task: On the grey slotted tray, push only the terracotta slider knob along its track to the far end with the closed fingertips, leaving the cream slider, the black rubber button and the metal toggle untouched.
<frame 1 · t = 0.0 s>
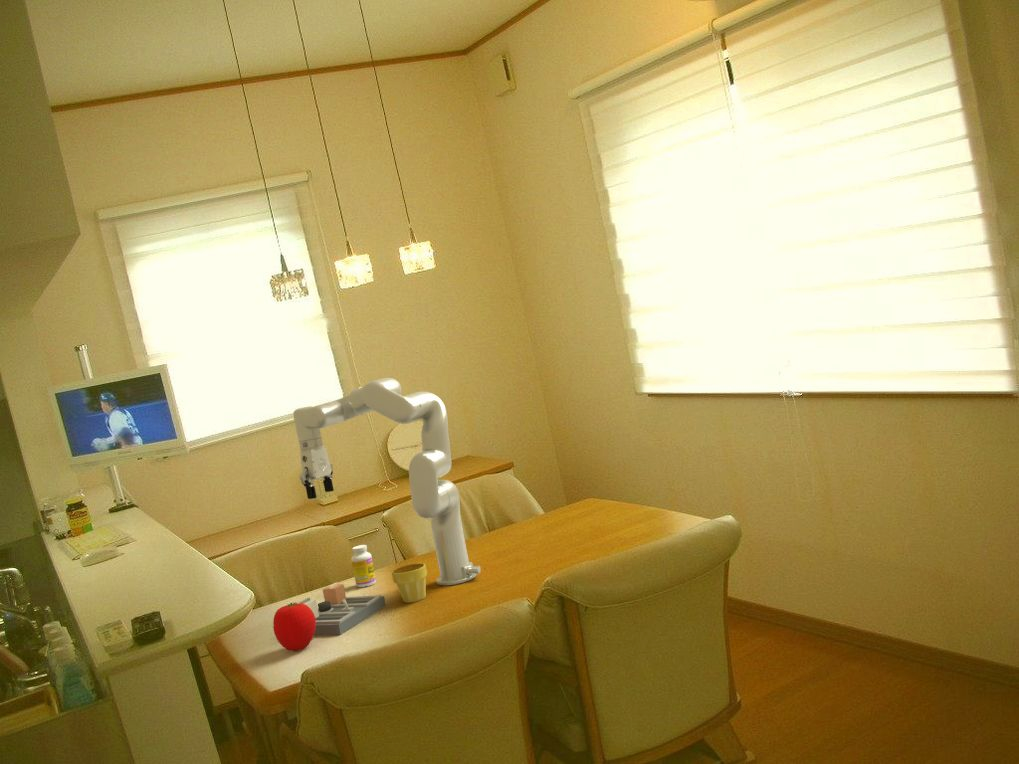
hand: (321, 494, 336), 31 cm above the table, tool pointing down, fingers open, 9 cm apart
cream slider: (306, 609, 292), point 6 cm above the table, slide at 0.0 cm
supplement bottle: (366, 585, 333), on the table
tomato: (298, 649, 275), on the table
grey slotted tray: (338, 620, 296), on the table
terracotta slider: (334, 593, 304), point 6 cm above the table, slide at 0.0 cm
black button: (324, 606, 298), point 5 cm above the table, slide at 0.0 cm
plant pot: (414, 599, 304), on the table
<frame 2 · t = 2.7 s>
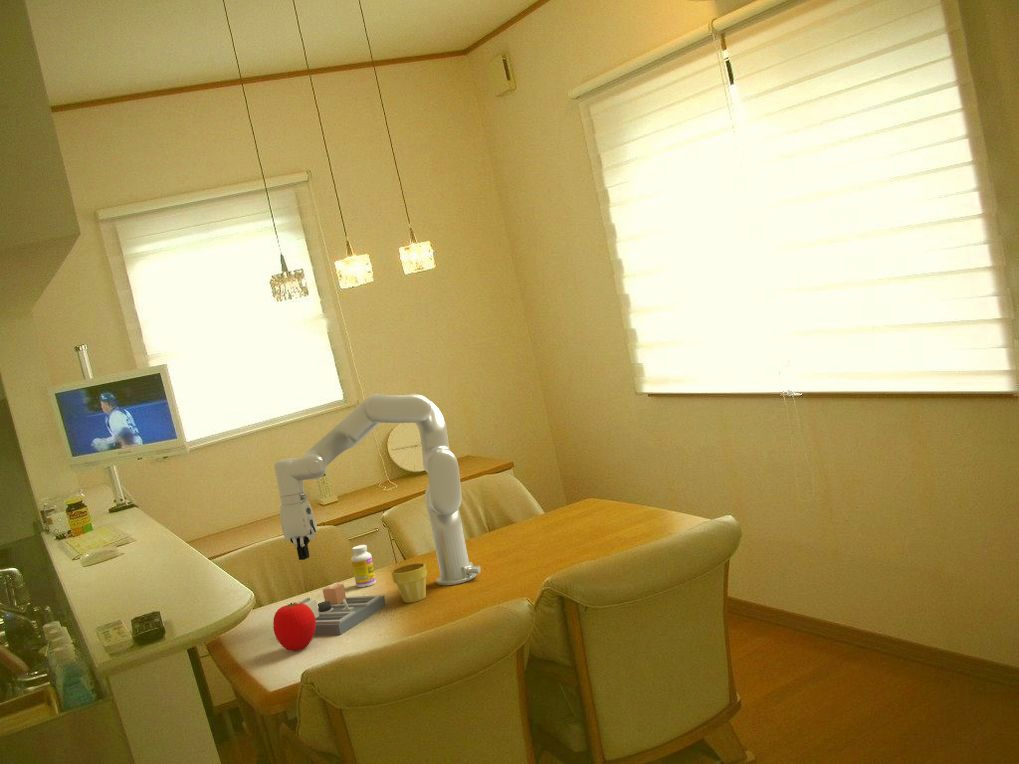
hand: (304, 558, 307), 17 cm above the table, tool pointing down, fingers closed
nothing on the table moved.
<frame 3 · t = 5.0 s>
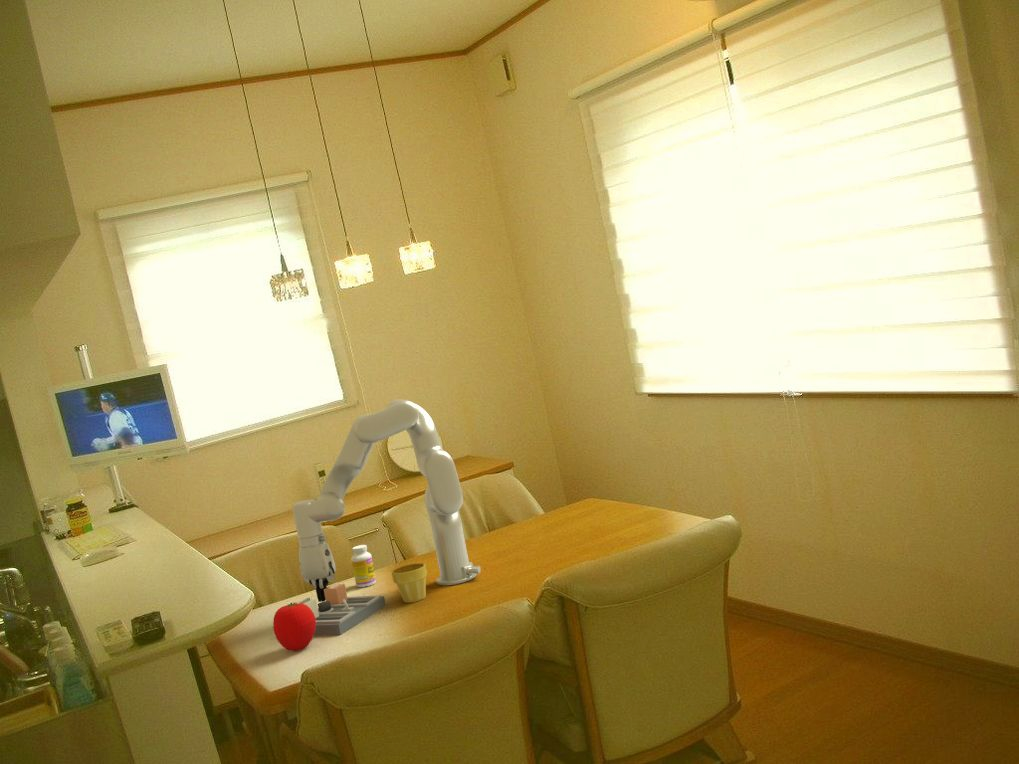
hand: (323, 600, 306), 4 cm above the table, tool pointing down, fingers closed
terracotta slider: (335, 593, 304), point 6 cm above the table, slide at 0.4 cm, touching gripper
everything else where it was.
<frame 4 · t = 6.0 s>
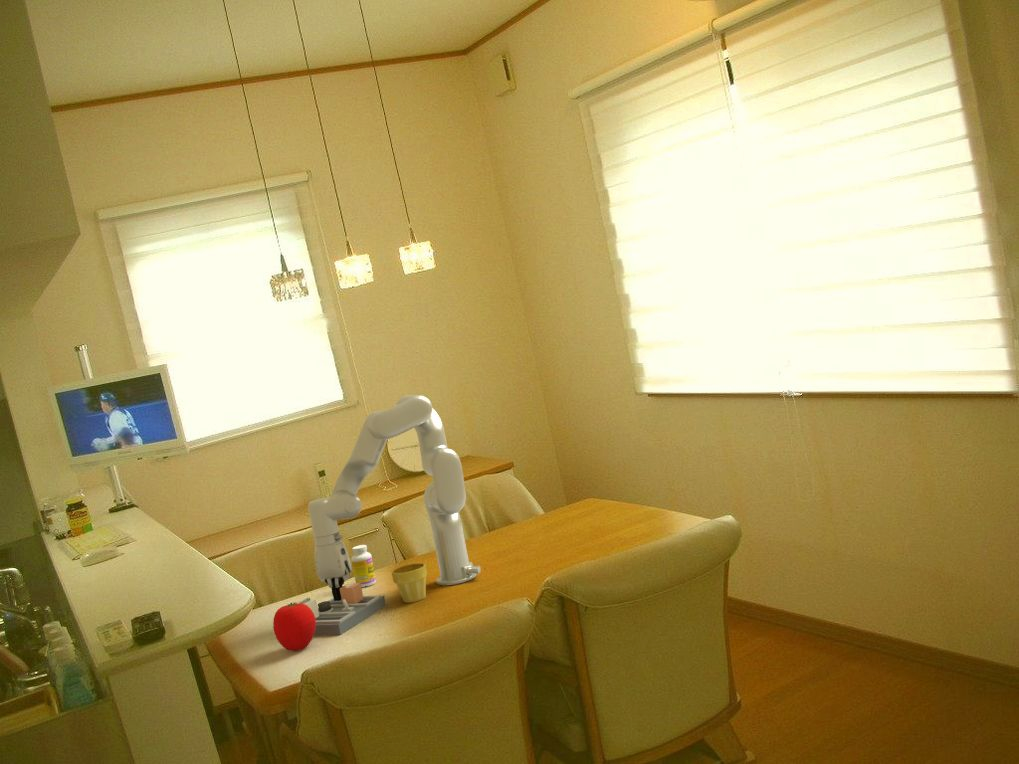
hand: (339, 599, 304), 4 cm above the table, tool pointing down, fingers closed
terracotta slider: (351, 592, 301), point 6 cm above the table, slide at 6.2 cm, touching gripper
everything else where it was.
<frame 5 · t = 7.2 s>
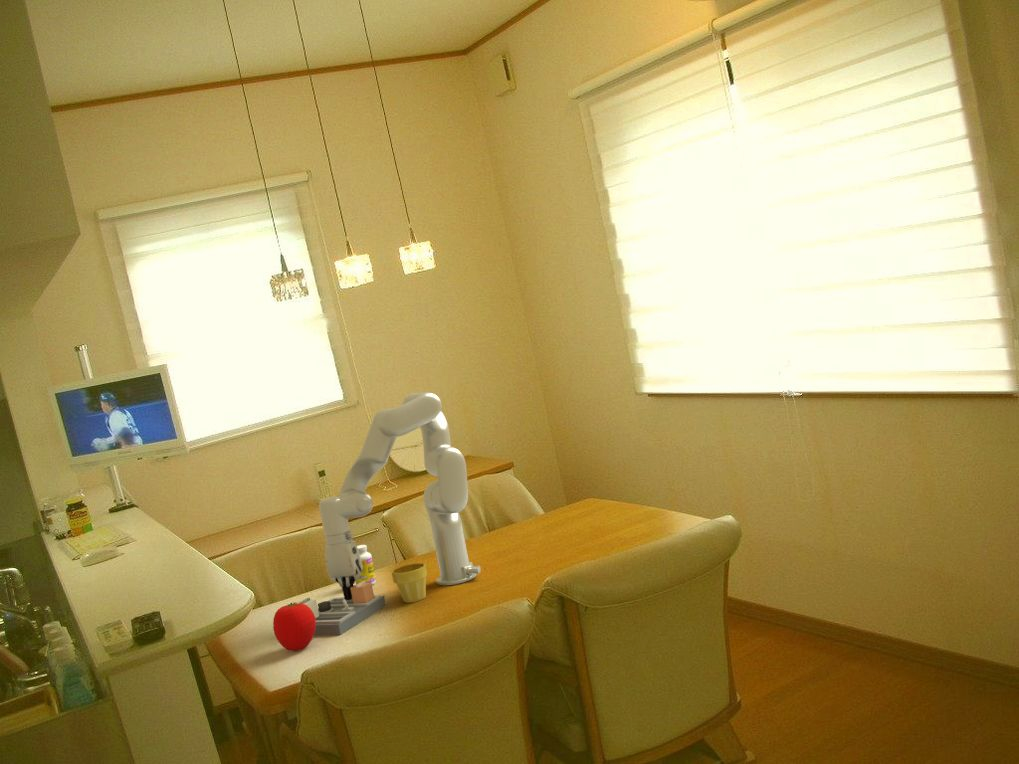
hand: (350, 598, 302), 4 cm above the table, tool pointing down, fingers closed
terracotta slider: (362, 592, 300), point 6 cm above the table, slide at 10.1 cm, touching gripper
everything else where it was.
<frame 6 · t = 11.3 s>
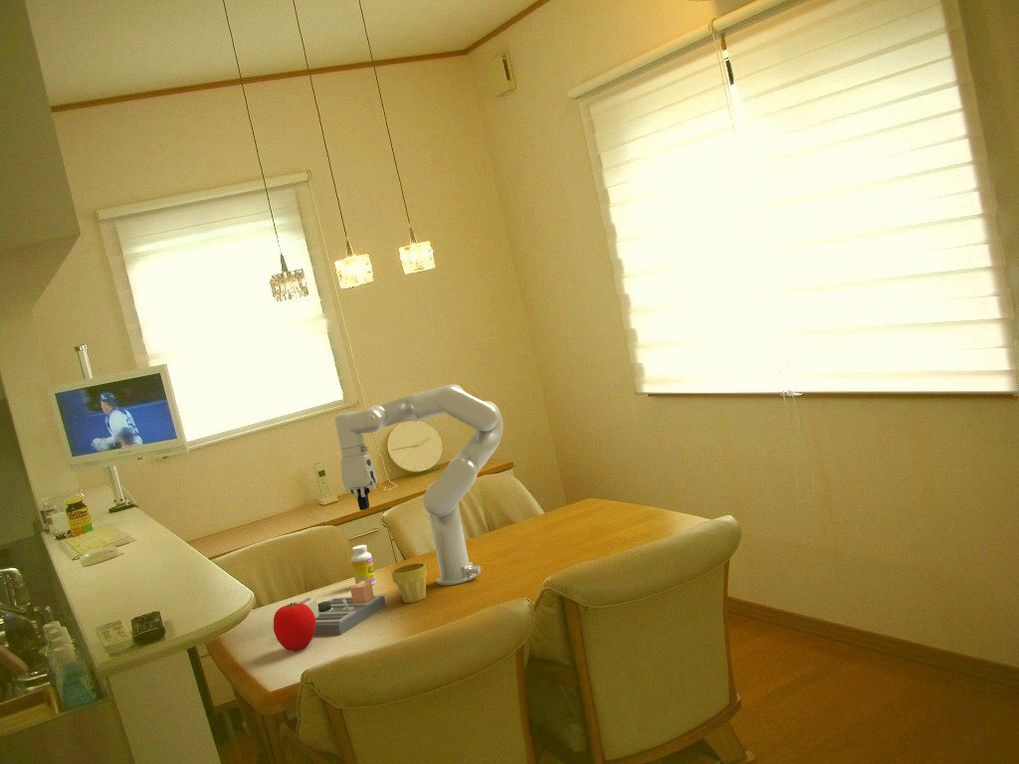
hand: (364, 509, 317), 27 cm above the table, tool pointing down, fingers closed
terracotta slider: (362, 592, 300), point 6 cm above the table, slide at 10.0 cm
everything else where it was.
at the end: terracotta slider slide at 10.0 cm; cream slider slide at 0.0 cm; black button slide at 0.0 cm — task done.
